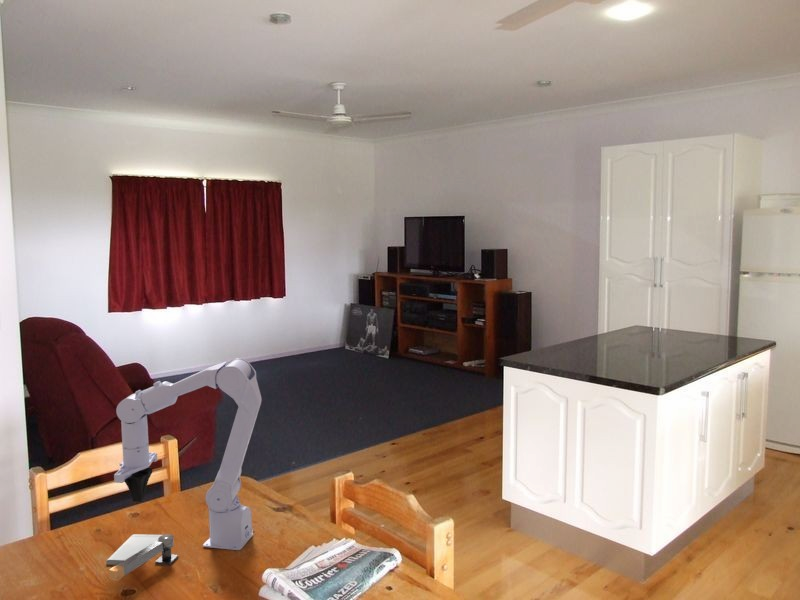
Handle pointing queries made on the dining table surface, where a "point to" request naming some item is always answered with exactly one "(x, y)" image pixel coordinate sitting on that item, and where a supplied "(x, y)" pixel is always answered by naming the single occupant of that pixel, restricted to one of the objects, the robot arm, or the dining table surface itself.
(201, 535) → the dining table surface
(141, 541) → the hard drive
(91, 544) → the dining table surface
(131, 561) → the grey long bar
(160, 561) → the grey small stand
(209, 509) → the robot arm
